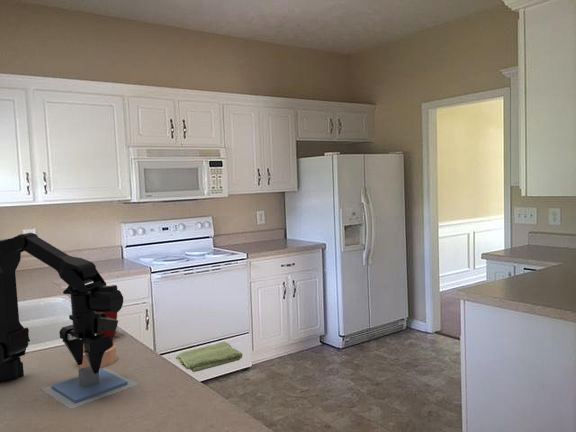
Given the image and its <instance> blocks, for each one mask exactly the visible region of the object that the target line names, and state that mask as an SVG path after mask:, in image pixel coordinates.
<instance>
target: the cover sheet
mask: <svg viewBox="0 0 576 432" xmlns="http://www.w3.org/2000/svg"><path fill="white" fill-rule="evenodd" d="M125 385H128V383H127V381H125V380H123V379H121V378H119V377H117V376H115V375H113V374H111V373H109V372H107V371H105V370H103V368H100V369H99V372H98V373H96V374H94V373H93V370H92V368H91V366H89V367H85V368H80V369H78V376H76V377H72V378H69V379H67V380H64V381H59V382H58V383H55V384H52V385H50V386H51V387H52V389H53V390H55V391H57V392H58V393H60V394H61V395H63V396H64V397H66V398H67V399H69V400H70V401H72V402H74V403H78V402H81V401H84V400H86V399H89V398H92V397H95V396H97V395H100V394H103V393H106V392H109V391H111V390H114V389H117V388H120V387H122V386H125Z"/></svg>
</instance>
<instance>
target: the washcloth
mask: <svg viewBox="0 0 576 432" xmlns="http://www.w3.org/2000/svg"><path fill="white" fill-rule="evenodd" d="M243 355H244V354H243V352H240V351H239V350H237V349H236V348H234V347H233V346H232V345H231V344H230V343H229V342H226V341H220V342H217V343H215V344H209V345H206V346H203V347H199V348H194V349H190V350H187V351H186V350H185V351H182V352H181V353H179V354H177V355H176V356H175V359H176V360H177V361H178V363H179V364H181V365H182V367H183V368H185V369H186V370H189V371H192V373H195V372H201V371H204V370H207V369H211V368H216V367H219V366H223V365H227V364H229V363H234V362H238V361H240V360H241V359H243Z"/></svg>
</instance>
